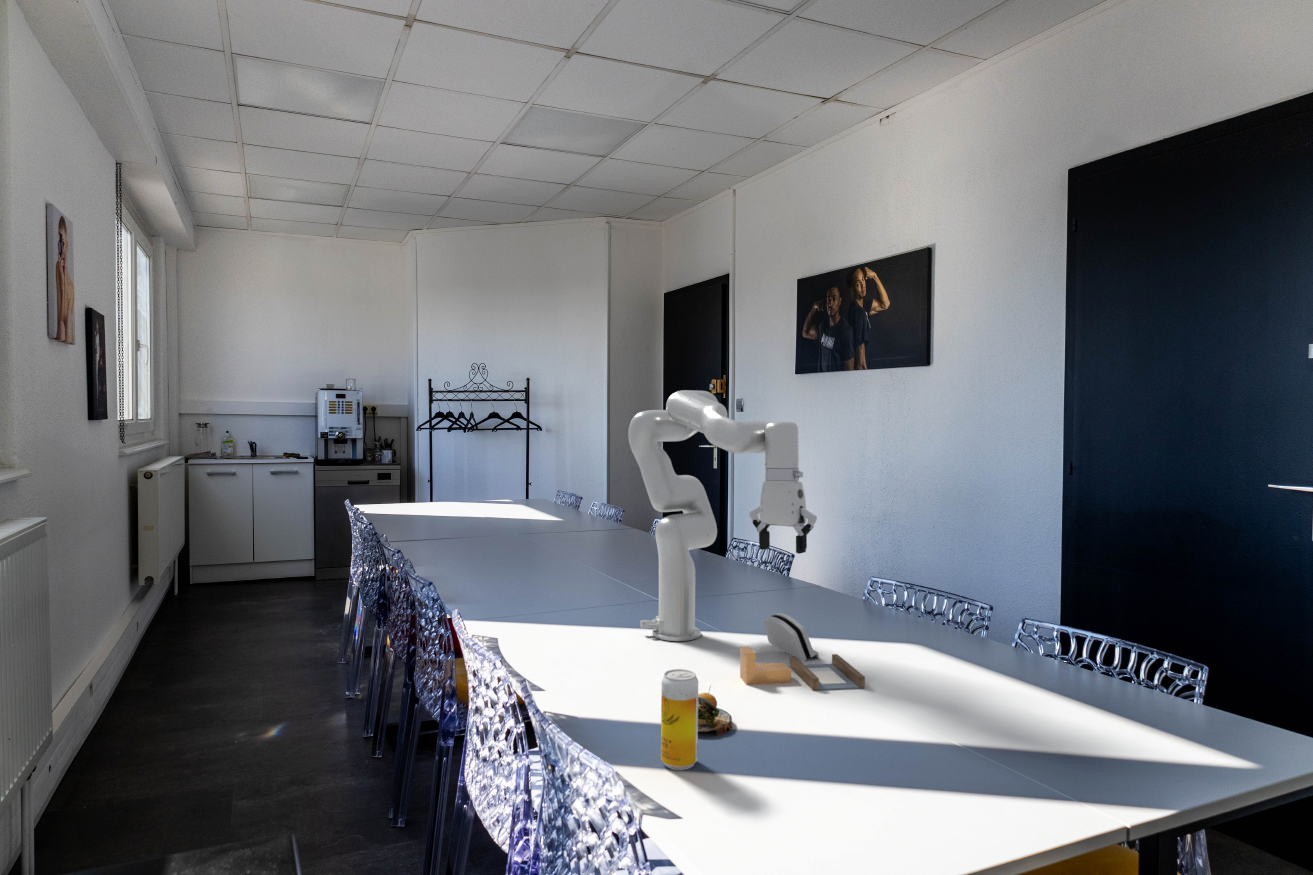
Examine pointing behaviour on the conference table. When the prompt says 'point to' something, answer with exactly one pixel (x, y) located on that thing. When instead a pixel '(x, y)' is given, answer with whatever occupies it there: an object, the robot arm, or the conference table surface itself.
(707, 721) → the burger
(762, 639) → the conference table surface
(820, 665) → the bay mat
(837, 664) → the bay walls
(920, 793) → the conference table surface
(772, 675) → the bracket
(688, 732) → the beer can
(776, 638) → the grey slotted curved block
